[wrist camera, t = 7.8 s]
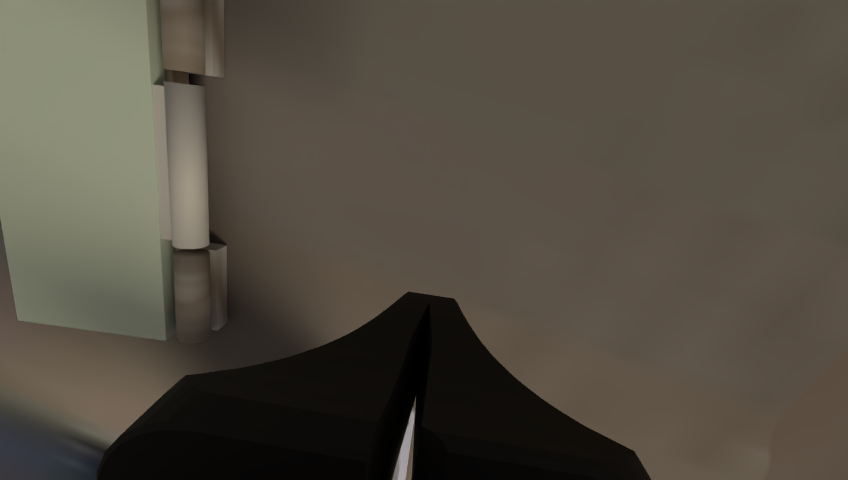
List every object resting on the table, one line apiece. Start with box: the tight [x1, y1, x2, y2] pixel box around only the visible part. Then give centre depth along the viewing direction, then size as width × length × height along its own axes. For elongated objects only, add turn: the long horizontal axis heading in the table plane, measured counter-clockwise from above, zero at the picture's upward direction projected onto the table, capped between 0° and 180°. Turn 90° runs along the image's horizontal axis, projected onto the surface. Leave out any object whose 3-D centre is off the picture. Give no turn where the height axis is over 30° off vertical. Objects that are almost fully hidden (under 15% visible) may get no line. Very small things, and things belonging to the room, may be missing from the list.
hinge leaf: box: [0, 0, 209, 341], centre depth 19 cm, size 18×10×2 cm, turn 173°
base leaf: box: [160, 0, 228, 344], centre depth 20 cm, size 18×11×3 cm, turn 173°
